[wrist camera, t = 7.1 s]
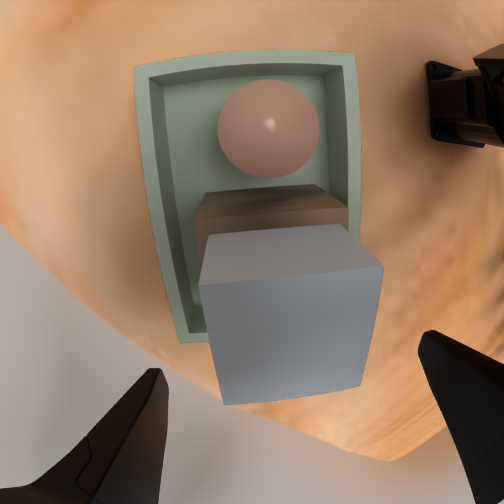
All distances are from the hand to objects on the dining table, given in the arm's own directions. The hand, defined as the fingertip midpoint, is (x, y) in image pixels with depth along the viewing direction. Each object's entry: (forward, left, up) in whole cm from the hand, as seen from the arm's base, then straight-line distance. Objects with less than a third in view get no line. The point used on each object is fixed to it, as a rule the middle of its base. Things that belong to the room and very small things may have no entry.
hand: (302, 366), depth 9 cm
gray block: (0, 0, -6) cm, 6 cm away
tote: (0, -3, -12) cm, 13 cm away
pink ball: (0, -7, -12) cm, 14 cm away
